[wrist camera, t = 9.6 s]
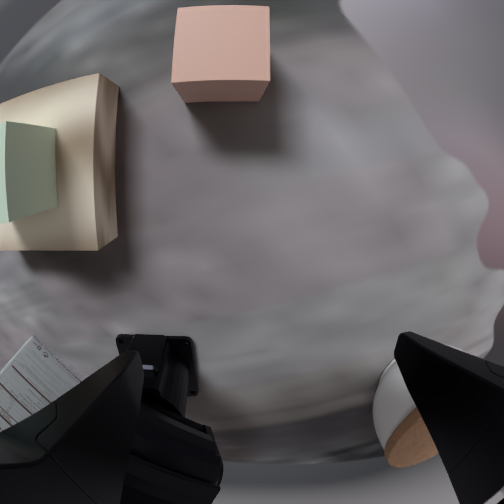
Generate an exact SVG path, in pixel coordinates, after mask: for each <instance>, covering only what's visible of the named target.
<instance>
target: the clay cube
mask: <svg viewBox="0 0 504 504" xmlns="http://www.w3.org/2000/svg"><path fill="white" fill-rule="evenodd" d="M269 82H270V24H269V7H267V6H247V5H215V6H196V7H183V8H178V11H177V20H176V29H175V39H174V51H173V64H172V80H171V83H172V84H173V86H174V87H175V89H176V90H177V92H178V93H179V95H180V96H181V98H182V99H183V101H184V102H185V103H191V102H214V101H257V102H260V100H261V98H262V96H263V94H264V92H265V90H266V88H267V86H268V84H269Z"/></svg>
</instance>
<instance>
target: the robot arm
mask: <svg viewBox="0 0 504 504" xmlns="http://www.w3.org/2000/svg"><path fill="white" fill-rule="evenodd" d="M120 339H122V340H123V341H124V342H123V341H121V340H120ZM183 342H187V343H188V344H184V343H183ZM116 344H117V348H118V351H119V356H118V357H116V358H115V359H113V360H112V361H110V362H109V363H108V364H106V365H105V366H103V367H102V368H100V369H99V370H97V371H96V372H95V373H93V374H92V375H90V376H89V377H87V378H86V379H85V380H83V381H82V382H80V383H79V384H77V385H76V386H74V387H73V388H72V389H70V390H69V391H67V392H66V393H64V394H63V395H61V396H60V397H58V398H57V399H56V400H54V401H53V402H51V403H50V404H48V405H47V406H45V407H44V408H42V409H41V410H39V411H37V412H36V413H34V414H32V415H31V416H29V417H27V418H25V419H24V420H22V421H20V422H18V423H16V424H14V425H12V426H11V427H9V428H7V429H5V430H3V431H1V432H0V504H212V502H213V500H214V499H215V497H216V496H217V494H218V493H219V491H220V486H219V485H220V483H221V480H222V476H223V463H222V459H221V456H220V453H219V451H218V448H217V445H216V442H215V439H214V436H213V433H212V430H211V427H209V426H206V425H201V424H198V423H196V422H194V421H192V420H189V419H187V418H185V411H186V403H187V396H196V395H198V390H199V389H198V383H197V376H196V369H195V362H194V355H193V347H192V341H191V339H190V338H189V337H186V336H164V335H144V334H135V335H128V334H119V335H118V336H117V338H116ZM394 357H395V360H396V362H397V365H398V367H399V370H400V372H401V375H402V377H403V380H404V382H405V385H406V387H407V389H408V391H409V393H410V395H411V397H412V399H413V401H414V403H415V405H416V407H417V409H418V411H419V413H420V415H421V417H422V419H423V421H424V423H425V425H426V427H427V429H428V431H429V433H430V435H431V437H432V440H433V442H434V444H435V446H436V448H437V450H438V453H439V455H440V457H441V459H442V462H443V464H444V466H445V468H446V471H447V473H448V474H449V478H450V481H451V483H452V485H453V488H454V490H455V493H456V495H457V498H458V501H459V503H460V504H485V503H486V502H487V501H488V500H490V499H491V498H492V497H493V496H495V495H496V494H497V493H498V492H500V491H501V492H502V494H503V496H504V366H501V365H498V364H495V363H492V362H490V361H487V360H485V361H484V359H481V358H479V357H476V356H473V355H471V354H468V353H465V352H463V351H460V350H457V349H455V348H452V347H449V346H447V345H444V344H441V343H439V342H436V341H434V340H431V339H428V338H426V337H423V336H421V335H418V334H415V333H413V332H404V333H401V334H400V335H399V336H398V340H397V343H396V347H395V350H394ZM192 390H193V391H192ZM497 504H504V498H503V499H502V500H501V501H500V502H499V503H497Z"/></svg>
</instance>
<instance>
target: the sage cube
mask: <svg viewBox="0 0 504 504" xmlns="http://www.w3.org/2000/svg"><path fill="white" fill-rule="evenodd" d="M55 142H56V128H51V127H44V126H38V125H32V124H25V123H17V122H10V121H5V122H3V123H1V124H0V224H1V223H8V222H12V221H14V220H17V219H20V218H23V217H26V216H29V215H32V214H36V213H39V212H42V211H45V210H48V209H52V208H55V207H58V200H57V186H56V158H55Z"/></svg>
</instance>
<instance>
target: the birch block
mask: <svg viewBox="0 0 504 504" xmlns="http://www.w3.org/2000/svg"><path fill="white" fill-rule="evenodd" d="M118 92H119V86H118V85H116V84H115V83H113V82H112V81H110V80H109V79H107V78H106V77H104V76H103V75H102V74H100V73H97V74H93V75H88V76H84V77H80V78H76V79H72V80H68V81H65V82H61V83H57V84H54V85H51V86H48V87H44V88H41V89H38V90H35V91H33V92H30V93H27V94H24V95H22V96H19V97H16V98H14V99H11V100H9V101H6V102H4V103H2V104H0V124H1V123H3V122H5V121H10V122H17V123H25V124H32V125H38V126H44V127H51V128H56V142H55V158H56V186H57V200H58V207H55V208H52V209H48V210H45V211H42V212H39V213H36V214H32V215H29V216H26V217H23V218H20V219H17V220H14V221H12V222H8V223H1V224H0V250H51V251H98V250H100V249H101V248H103V247H104V246H105V245H107V244H108V243H110V242H111V241H112V240H114V239H115V238H117V237H118V231H117V217H116V196H115V137H116V117H117V103H118Z"/></svg>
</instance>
